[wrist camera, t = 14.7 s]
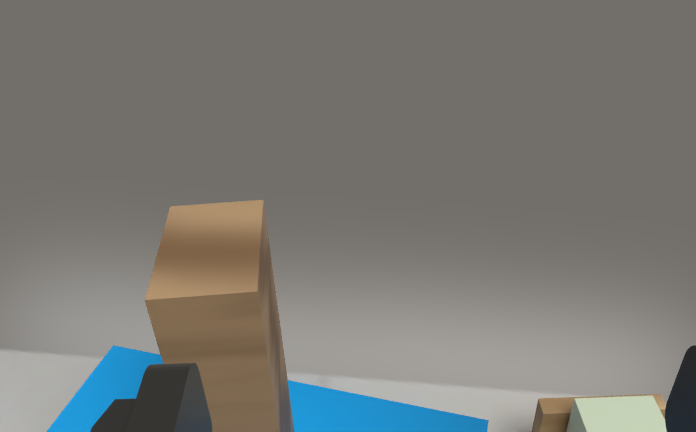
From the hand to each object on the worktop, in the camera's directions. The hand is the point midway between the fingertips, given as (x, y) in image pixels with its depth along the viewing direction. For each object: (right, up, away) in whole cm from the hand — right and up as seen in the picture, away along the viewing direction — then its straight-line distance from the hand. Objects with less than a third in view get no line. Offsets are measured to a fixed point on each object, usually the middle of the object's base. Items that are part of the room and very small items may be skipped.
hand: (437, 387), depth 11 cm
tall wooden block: (-6, -11, +24) cm, 27 cm away
